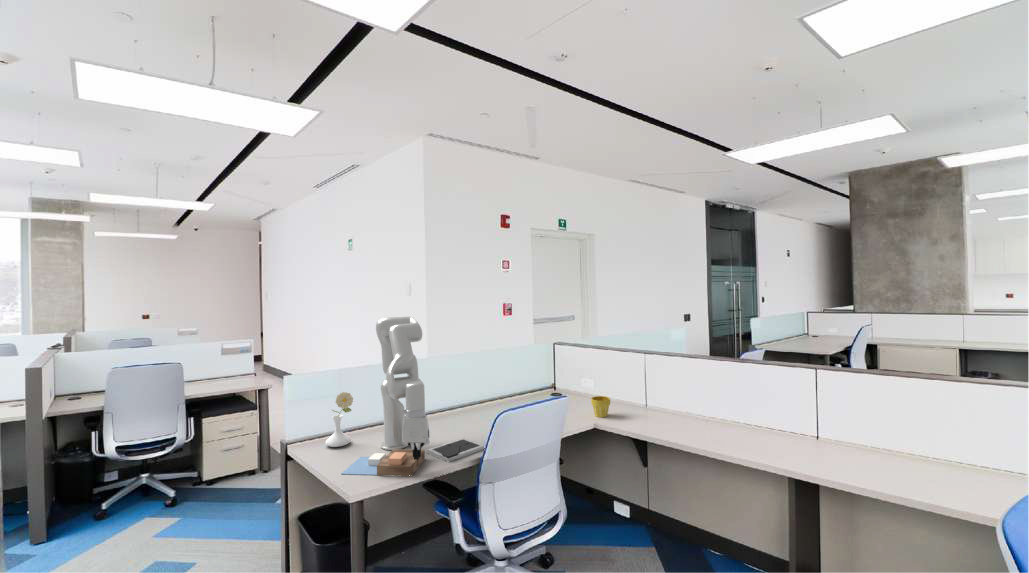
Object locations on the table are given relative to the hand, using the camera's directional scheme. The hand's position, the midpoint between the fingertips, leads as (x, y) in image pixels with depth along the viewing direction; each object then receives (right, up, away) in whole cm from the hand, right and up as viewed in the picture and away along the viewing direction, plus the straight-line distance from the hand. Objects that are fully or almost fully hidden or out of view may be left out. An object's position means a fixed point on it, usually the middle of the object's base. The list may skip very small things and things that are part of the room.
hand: (417, 458), depth 194 cm
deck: (-7, -6, +6) cm, 11 cm away
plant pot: (+87, -2, +71) cm, 112 cm away
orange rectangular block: (-8, 0, +1) cm, 8 cm away
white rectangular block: (-19, -4, +11) cm, 22 cm away
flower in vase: (-43, -6, +34) cm, 56 cm away
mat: (-22, -6, +7) cm, 24 cm away
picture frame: (+13, -6, +23) cm, 27 cm away
